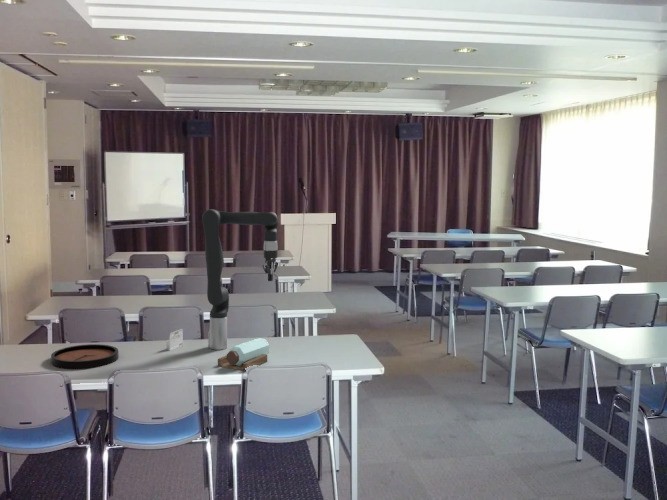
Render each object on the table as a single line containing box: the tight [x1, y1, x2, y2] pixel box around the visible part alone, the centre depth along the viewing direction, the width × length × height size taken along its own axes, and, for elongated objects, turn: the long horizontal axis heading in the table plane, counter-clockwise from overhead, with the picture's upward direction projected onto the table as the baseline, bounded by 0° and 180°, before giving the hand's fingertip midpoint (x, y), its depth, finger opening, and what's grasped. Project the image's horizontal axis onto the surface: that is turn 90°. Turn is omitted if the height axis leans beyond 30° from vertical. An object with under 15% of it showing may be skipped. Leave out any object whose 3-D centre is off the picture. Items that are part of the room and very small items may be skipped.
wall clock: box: [50, 343, 120, 370], centre depth 313 cm, size 31×4×31 cm
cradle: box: [217, 354, 268, 371], centre depth 311 cm, size 17×18×4 cm
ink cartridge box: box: [165, 328, 184, 351], centre depth 337 cm, size 2×11×10 cm, turn 155°
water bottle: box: [226, 337, 270, 366], centre depth 313 cm, size 10×10×25 cm
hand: (270, 280), depth 338 cm, fingers closed
